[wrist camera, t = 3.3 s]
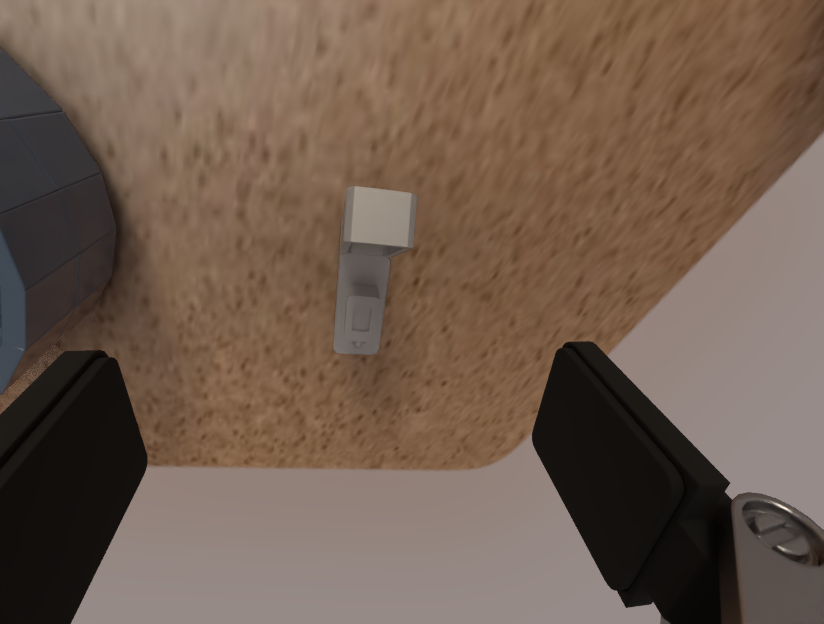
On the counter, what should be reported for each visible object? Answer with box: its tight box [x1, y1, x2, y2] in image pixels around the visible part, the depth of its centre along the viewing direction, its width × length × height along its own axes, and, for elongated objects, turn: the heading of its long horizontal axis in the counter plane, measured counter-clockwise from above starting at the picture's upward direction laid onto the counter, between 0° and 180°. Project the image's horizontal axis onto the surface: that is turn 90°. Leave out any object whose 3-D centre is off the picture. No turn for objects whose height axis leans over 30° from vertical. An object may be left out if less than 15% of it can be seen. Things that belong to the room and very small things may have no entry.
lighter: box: [333, 186, 417, 355], centre depth 15 cm, size 7×2×8 cm, turn 172°
